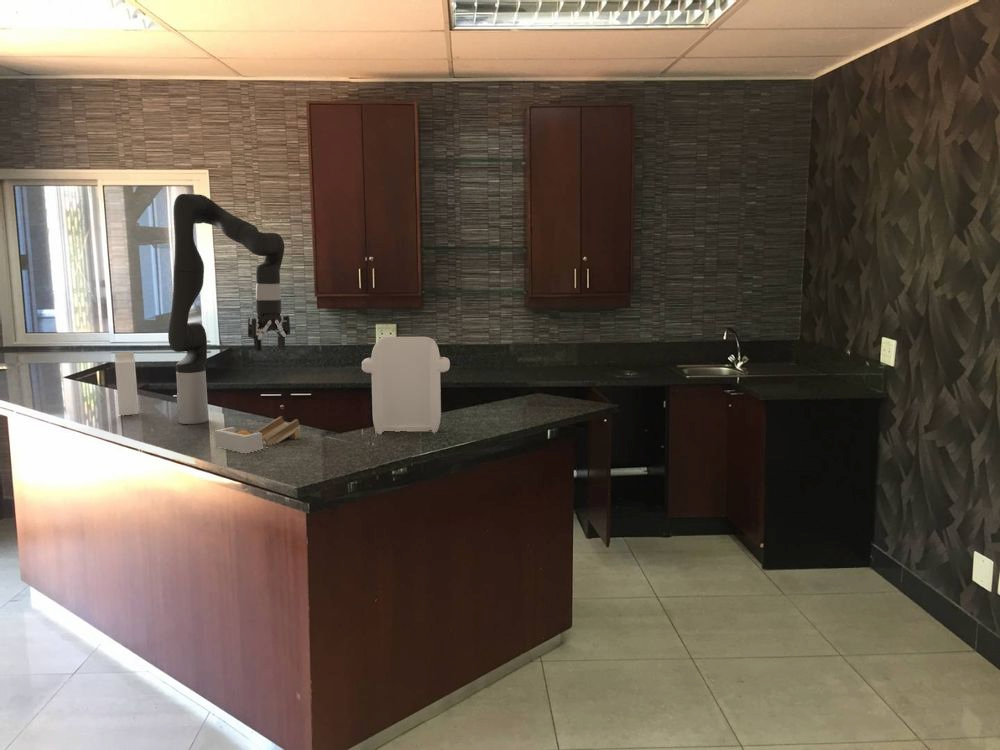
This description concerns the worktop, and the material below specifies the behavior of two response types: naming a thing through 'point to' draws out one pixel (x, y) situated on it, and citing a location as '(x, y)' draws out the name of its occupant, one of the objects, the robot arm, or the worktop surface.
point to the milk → (126, 383)
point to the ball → (243, 432)
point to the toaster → (406, 384)
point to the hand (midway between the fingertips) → (269, 349)
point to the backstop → (238, 440)
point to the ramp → (279, 431)
